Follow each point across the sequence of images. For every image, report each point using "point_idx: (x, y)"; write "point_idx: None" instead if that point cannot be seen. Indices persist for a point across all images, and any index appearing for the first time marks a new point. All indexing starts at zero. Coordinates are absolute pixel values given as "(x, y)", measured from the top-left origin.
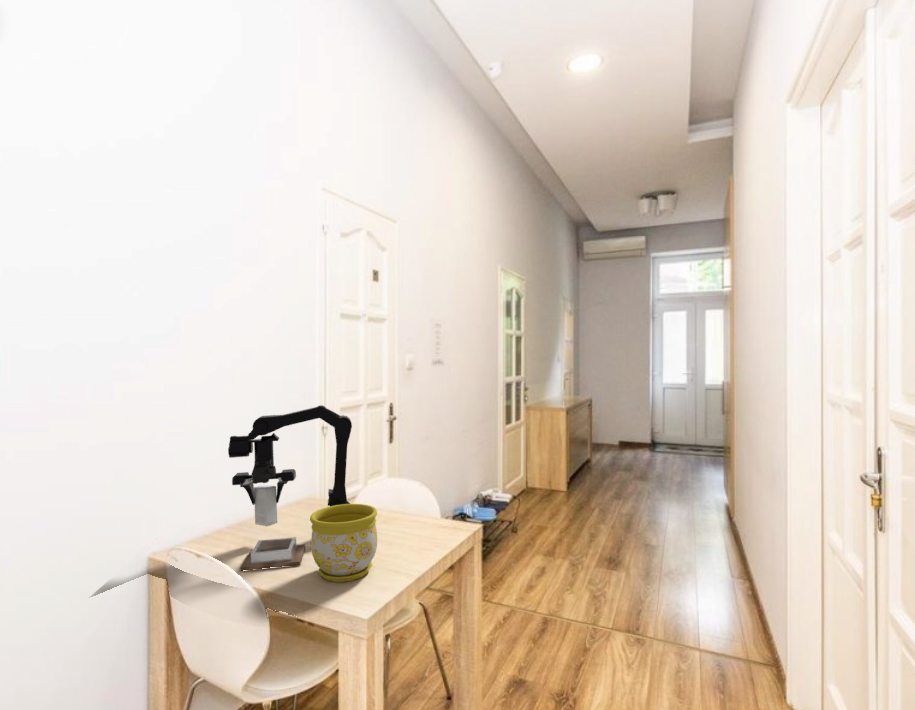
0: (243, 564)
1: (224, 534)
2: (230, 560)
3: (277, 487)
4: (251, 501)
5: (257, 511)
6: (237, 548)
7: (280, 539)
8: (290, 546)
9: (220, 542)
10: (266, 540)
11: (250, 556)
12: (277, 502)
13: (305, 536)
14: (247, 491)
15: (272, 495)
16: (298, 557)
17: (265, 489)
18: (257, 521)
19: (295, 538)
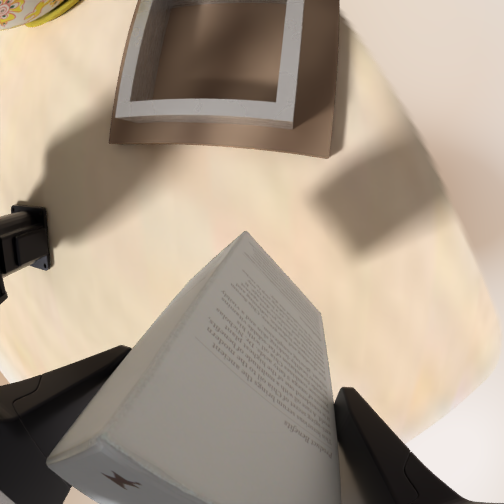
0: (335, 6)
1: (404, 404)
2: (399, 115)
3: (9, 416)
4: (369, 406)
5: (308, 341)
6: (384, 249)
7: (179, 100)
8: (144, 13)
9: (429, 340)
10: (249, 106)
11: (321, 69)
12: (123, 345)
13: (126, 278)
14: (440, 487)
15: (113, 383)
16: None
17: (115, 444)
18: (307, 305)
19: (118, 99)
